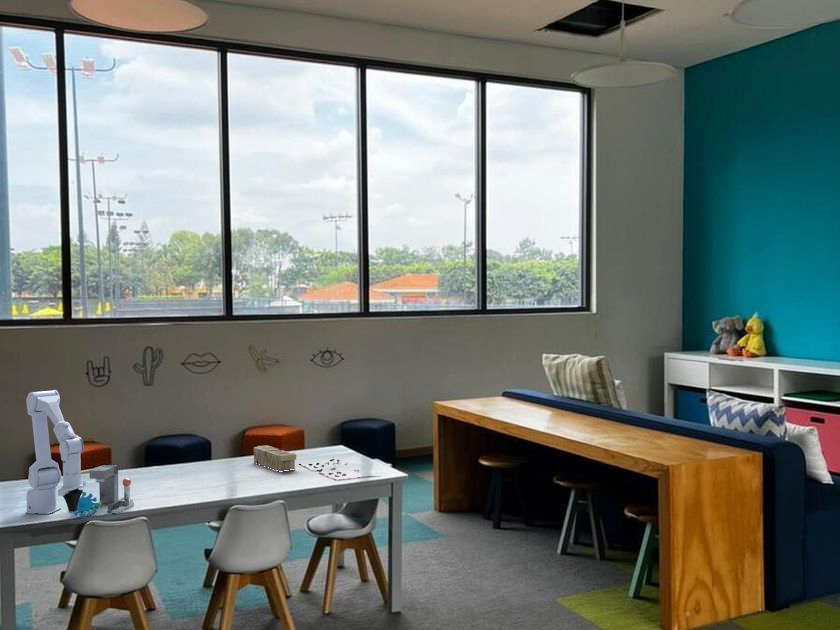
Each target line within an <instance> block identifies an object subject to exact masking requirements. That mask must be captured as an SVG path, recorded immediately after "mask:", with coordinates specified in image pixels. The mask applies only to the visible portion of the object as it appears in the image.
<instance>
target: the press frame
mask: <svg viewBox="0 0 840 630" xmlns="http://www.w3.org/2000/svg"><path fill="white" fill-rule="evenodd" d="M89 479H91V480H92V479H94V480H95V483H99V490H98V491H99V502H101V504H107V503H111V504H107V513H111V514H112V513H116V514H115V515H117V514H118V515H119V514H120V513H122V512H123V511H125V509H126V510H127V508H128V509H129V508H131V507H133V506H134V505H135V502H134V501H133V503H132V504H130V505H121V501H122V500H124V496H123V497H121V498H119V465H117V464H103V465H99V466H97V467H95V468H92V469H90V470H89ZM89 499H92V497H91V498H89ZM121 511H122V512H121ZM119 512H120V513H119Z"/></svg>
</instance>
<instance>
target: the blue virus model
mask: <svg viewBox="0 0 840 630" xmlns="http://www.w3.org/2000/svg"><path fill="white" fill-rule="evenodd" d="M86 495H87V492H86V491H83V493H82V494H81V496H80V499H79V502H78V506H77V510H76V511H75V512H73V515H74V516H75V517H77V516H78V515H79V514H80V513H81V514H80V518H84V517H85V513H86V512H87V515H86V516H87V517H89V516H92V513H96V512H97V510H98V509H99V507H101V506H102V503H101V502H100V501H99V502H97V500H98V499H97V497H94V495H93V493H88V495H87V496H86ZM89 498H91V499H89ZM91 510H92V512H91Z"/></svg>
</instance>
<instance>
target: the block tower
mask: <svg viewBox="0 0 840 630" xmlns="http://www.w3.org/2000/svg"><path fill="white" fill-rule="evenodd" d="M296 460H297V454H296V453H294V452H289V451H287V450H283V449H282V450H280V449H279V448H277V447H274V446H271V445H267V444H266V445H257V446H254V447H253V464H255V463H258V464H260V465H263V466H265V467H269V468H271V469H274V470H278V471H284V470H290V469H295V470H296V467H295V466H296ZM258 464H257V465H258ZM260 465H259V466H260ZM263 466H262V467H263ZM265 467H264V468H265ZM271 469H270V470H271ZM274 470H273V471H274Z"/></svg>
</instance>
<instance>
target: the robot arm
mask: <svg viewBox="0 0 840 630" xmlns="http://www.w3.org/2000/svg"><path fill="white" fill-rule="evenodd" d="M25 401H26V411H27V415H28V416H31V423H32V432H33V440H34V441H33V442H34V450H35V460H36V461H34V463H32V465H31V466H29V467H28V480H27V481H28V484H29V486H30V487H29V488H28V490H27V492H26V511H25V514H34V513H38V514H39V515H50V513H51V514H52V512H53V513H55V512H57V511H59V510H61V509H62V507H61V506H57V496H59V497H60V496H61V497H63V498H64V500H65V501H64V502H65V503H66V506H67V510H68V513H74V512H77V511H78V510H77V506H78V502H79V499H80V498H81V497H82V493H83V492H84V491H83V489H82V488H85V487H86V483H87V482H86V480H82V470H81V469H82V468H81V467H82V465H81V463H82V461H81V454H82V453H83V452H84V448H85V446H84V441H83V439H82V437H81V436H79V435H78V434H76V433H75V432H74V430H73V427H72V426H71V424H70V422H68V421H65V419H64V415H63V414H62V410H61V408H60V404H61V397H60V393H59V392H58V390H56V389H53V390H45V391H44V390H42V391H35V392H34V391H30V392H29V393H28V395H27V396H26V400H25ZM48 418H49V419H50V421H51V423H52V424H53V425H54V427H53V433H54V435H55V437H56V439H57V441H58V442H59V448H58V450H59V454H60V459H61V461H62V472H61V470H60V467H59V463H58V462H56V461H55V460H53V459H52V452H51V445H50V434H49V426H48V425H49V424H48ZM61 480H62V481H63V482H62V484H63V485H62V486H61V487H60V489H58V490H56V489H57V487H58V484H60V482H61Z"/></svg>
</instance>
